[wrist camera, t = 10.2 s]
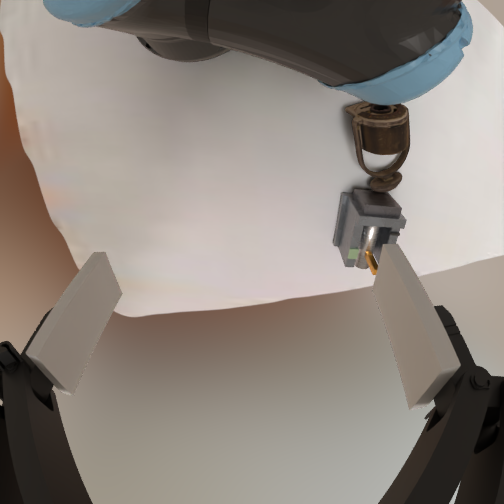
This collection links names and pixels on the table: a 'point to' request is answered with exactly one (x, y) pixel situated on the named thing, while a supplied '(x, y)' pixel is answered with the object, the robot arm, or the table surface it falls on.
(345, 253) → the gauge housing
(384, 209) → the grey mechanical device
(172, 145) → the table surface
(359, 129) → the brown drum with yoke
